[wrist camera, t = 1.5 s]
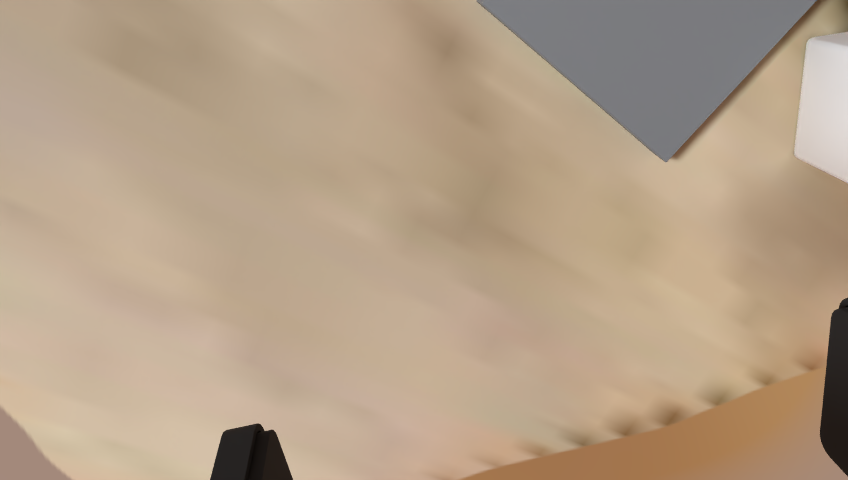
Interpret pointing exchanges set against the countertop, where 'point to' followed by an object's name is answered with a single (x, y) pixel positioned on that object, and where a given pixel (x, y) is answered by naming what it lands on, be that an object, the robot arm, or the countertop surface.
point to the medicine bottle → (824, 106)
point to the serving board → (652, 54)
